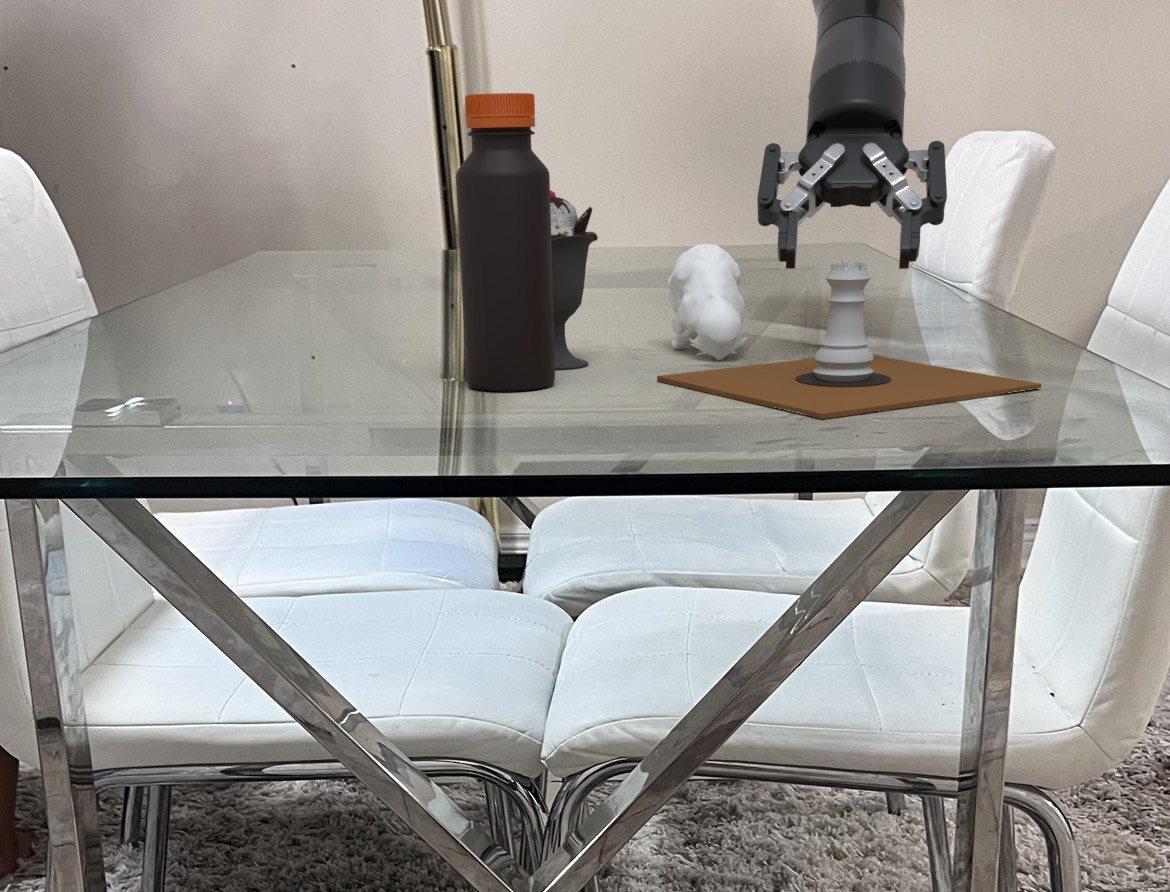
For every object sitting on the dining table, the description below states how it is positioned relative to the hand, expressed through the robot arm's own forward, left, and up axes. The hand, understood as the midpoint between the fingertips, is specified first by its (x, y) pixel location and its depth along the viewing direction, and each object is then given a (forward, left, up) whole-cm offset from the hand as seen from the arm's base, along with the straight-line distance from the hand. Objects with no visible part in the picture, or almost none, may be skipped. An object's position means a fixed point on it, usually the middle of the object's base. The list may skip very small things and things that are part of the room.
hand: (847, 261), depth 106 cm
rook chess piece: (-5, +4, -8) cm, 10 cm away
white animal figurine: (+15, +2, -8) cm, 18 cm away
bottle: (+10, +24, -8) cm, 27 cm away
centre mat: (-5, +4, -8) cm, 10 cm away
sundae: (+17, +16, -8) cm, 25 cm away
